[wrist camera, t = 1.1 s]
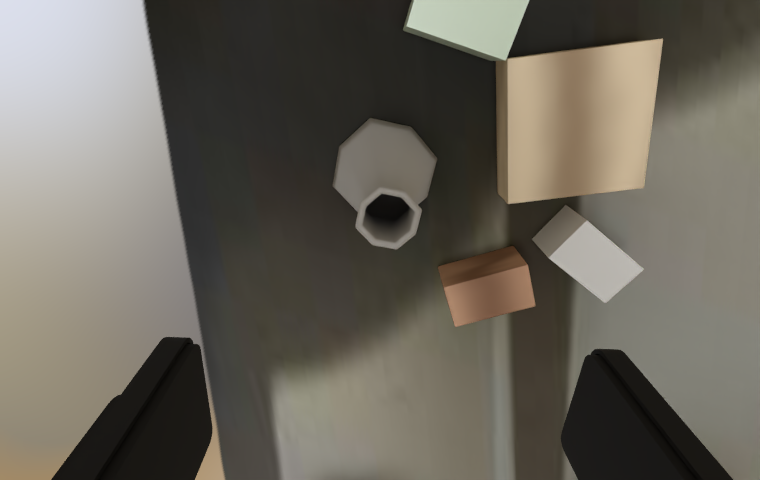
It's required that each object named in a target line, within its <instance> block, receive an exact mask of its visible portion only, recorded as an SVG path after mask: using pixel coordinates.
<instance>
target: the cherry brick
mask: <svg viewBox="0 0 760 480" xmlns="http://www.w3.org/2000/svg"><path fill="white" fill-rule="evenodd" d="M438 270H439V273H440V277H441V280H442V284H443V287H444V291H445V294H446V298H447V301H448V305H449V308H450V311H451V315H452V318H453V321H454V324H455V327H457V326H461V325H465V324H468V323H472V322H476V321H480V320H484V319H488V318H492V317H495V316H499V315H503V314H507V313H511V312H515V311H518V310H522V309H526V308H530V307H534V306H535V300H534V295H533V290H532V284H531V279H530V274H529V269H528V264H527V263H526V262H525V261H524V259H523V258H522V257H521V255H520V254H519V253H518V251H517V250H516V249H515V247H514V246H510V247H506V248H503V249H499V250H495V251H492V252H488V253H485V254H481V255H477V256H474V257H470V258H467V259H463V260H459V261H456V262H452V263H449V264H445V265H441V266H438Z"/></svg>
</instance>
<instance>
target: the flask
mask: <svg viewBox="0 0 760 480" xmlns="http://www.w3.org/2000/svg"><path fill="white" fill-rule="evenodd" d="M436 162H437V157H436V156H435V155H434V153H433V152H432V151H431V150H430V149H429V147H428V146H427V145H426V144H425V143H424V141H423V140H422V139H421V138H420V136H419V135H418V134H417V133H416V132H415V130H414V129H413V128H412V127H410V126H406V125H401V124H396V123H392V122H387V121H382V120H378V119H373V118H369V119H368V120H367V121H366V122H365V123H364V124H363V125H362V126H361V127H360V128H359V129H357V130H356V131H355V132H354V133H353V134H352V135H351V136H350V137H349V138H348V139H347V140H345V141H344V142H343V143H342V144H341V145H340V146H339V150H338V156H337V162H336V168H335V174H334V180H333V187H334V188H335V189H336V190H337V191H338V192H339V193H340V194H341V195H342V196H343V197H344V198H345V199H346V200H347V201H348V203H349V204H350V205H351V206H352V207H353V208H354V209H355V210H356V211H357V212H358V215H357V220H356V225H355V228H356V229H357V230H358V231H359V232H360V233H361V234H362V235H363V236H364V237H365V238H366V239H367V240H368V241H369V242H370V243H371V244H372V245H375V246H380V247H386V248H391V249H396V250H397V249H398V248H399V247H400V246H402V245H403V244H404V243H406V242H407V241H408V240H409V239H411V238H412V237H413V236H414V235H416V232H417V228H418V224H419V220H420V216H421V212H422V209H421V208H420V207H419V206H418V204H419V203H420V202H422V201H423V200H424V199H425V198H427V196H428V193H429V189H430V185H431V181H432V177H433V174H434V170H435V166H436Z"/></svg>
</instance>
